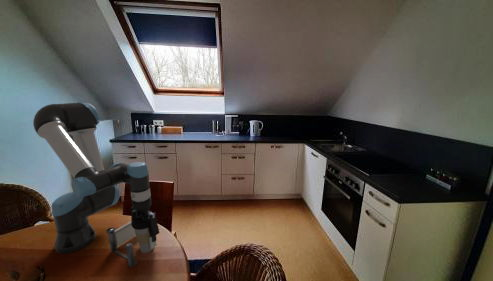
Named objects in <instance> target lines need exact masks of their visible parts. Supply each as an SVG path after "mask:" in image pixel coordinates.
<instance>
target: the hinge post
mask: <svg viewBox="0 0 493 281" xmlns="http://www.w3.org/2000/svg"><path fill="white" fill-rule="evenodd" d="M115 230H116V228H115V227H113V226H112V227H108V228H107V229H106V234H107V236H108V241H109V242H108V244H109V248H110V252H111V253H115V251H118V247H117V246H116V240H115V233H114V231H115Z"/></svg>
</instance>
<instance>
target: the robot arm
mask: <svg viewBox="0 0 493 281" xmlns="http://www.w3.org/2000/svg"><path fill="white" fill-rule="evenodd" d="M99 124H100V115H99V112H98V110H97V108H96V107H94V105H93V104H91V103H89V102H67V103H50V104H47V105H45V106H42V107H41V108H39V109H38V110H37V112H36V113H35V115H34V117H33V124H32V126H33V129H34V131H35V133H36V134H37V136H39V137H40V138H41V139H45V141H46V143H48V145H49V146H50V148H51V149H52V150H53V151H54V153H55V155H56V156H57V157H58V158H59V159H60V161H61V162H62V164H63V165H64V166H65V168H66V169H67V171H68V172H69V173H70V174H71V176H72V177H73V179H72V180H71V189H72V190H73V191H72V192H67V193H65V194H63V195H60V196H58V197H57V198H56V199H54V201H52V203H51V215H52V217H53V221H54V225H55V229H56V237H55V240H54V250H55V252H56V253H58V254H63V255H65V254H71V253H74V252H77V251H79V250H82V249H85V248H86V247H88V246H90V245H91V244H92V243H93V242H94V241H95V240H96V238H97V237H96V236H97V235H96V231H95V229H94V227H93V226H92V225H91V223H90V222H89V217H90V216H93V215H95V214H97V213H100V212H101V211H102V212H103V211H104V210H106V209H109V208H111V207H112V206H113V205H116V204H117V203H118V202H119V199H120V198H121V197H120V194H121V193H120V188H119V186H118V185H119V184H122V183H125V184H129V191H130V198H131V206H132V207H130V214H131V220H130V221H131V225H132V223H133V222H134V219H135V218H137V219H139V218H142V219H143V221H144V222H145V223H146V222H149V221H150V225H151V227H149V228H148V231H149V233H150V235H149V241H150V249H153V248H154V249H155V248H156V246H158V245H157V244H158V243H157V240H158V239H157V235H158V234H160V229H159V224H158V220H157V213H156V212H152V210H151V206H152V197H151V196H152V194H151V187H150V186H151V185H150V178H149V177H150V175H149V172H150V171H149V170H148V164H147V163H146V162H144V161H134V162H131V163H129V164H127V163H125V162H123V163H122V162H116V163H113V164H112V165H110V167H109V168H106V169H105V166H104V164H103V163H104V162H103V159H102V157H101V152H100V148H99V146H98V141H97V138H96V135H95V132H96V130H97V126H98V125H99ZM71 136H72V137H71ZM148 217H149V218H148ZM146 218H147V219H146ZM148 225H149V224H148Z"/></svg>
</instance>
